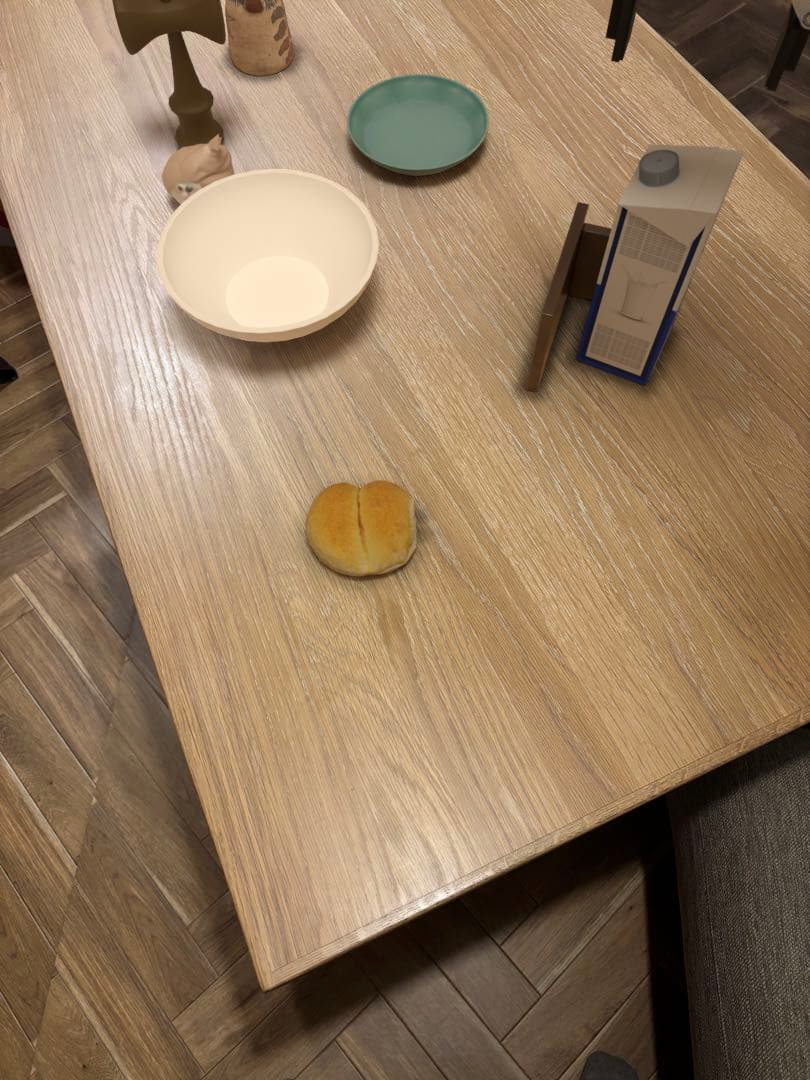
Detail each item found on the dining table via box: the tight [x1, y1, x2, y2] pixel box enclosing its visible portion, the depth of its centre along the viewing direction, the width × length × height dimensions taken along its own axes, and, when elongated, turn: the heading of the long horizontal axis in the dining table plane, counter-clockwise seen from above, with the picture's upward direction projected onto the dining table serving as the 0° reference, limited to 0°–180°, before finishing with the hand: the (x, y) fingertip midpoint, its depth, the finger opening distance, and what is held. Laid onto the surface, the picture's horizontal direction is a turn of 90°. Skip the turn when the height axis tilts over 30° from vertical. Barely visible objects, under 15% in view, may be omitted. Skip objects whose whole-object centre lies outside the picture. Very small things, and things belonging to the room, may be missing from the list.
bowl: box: [156, 168, 380, 343], centre depth 79 cm, size 20×20×7 cm
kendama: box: [111, 0, 227, 149], centre depth 83 cm, size 6×10×20 cm, turn 103°
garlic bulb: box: [161, 134, 235, 205], centre depth 84 cm, size 7×6×8 cm
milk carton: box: [575, 144, 745, 387], centre depth 70 cm, size 7×7×20 cm
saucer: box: [346, 73, 490, 177], centre depth 91 cm, size 15×15×3 cm
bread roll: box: [305, 480, 418, 577], centre depth 69 cm, size 8×9×4 cm
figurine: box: [224, 0, 295, 77], centre depth 93 cm, size 7×7×12 cm
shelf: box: [525, 201, 612, 393], centre depth 75 cm, size 10×13×10 cm
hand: (695, 63), depth 55 cm, fingers open, 9 cm apart
